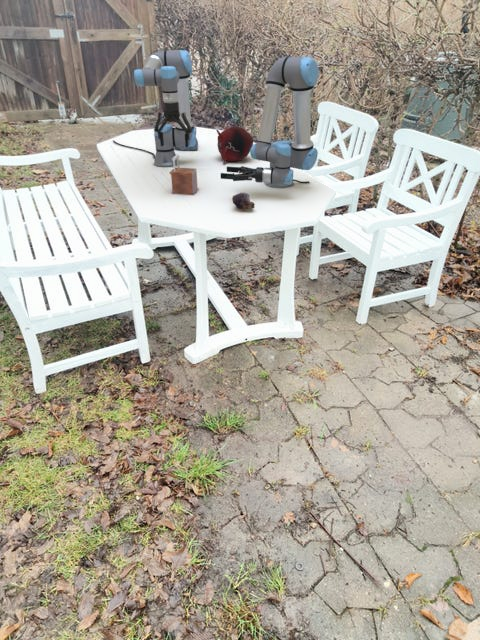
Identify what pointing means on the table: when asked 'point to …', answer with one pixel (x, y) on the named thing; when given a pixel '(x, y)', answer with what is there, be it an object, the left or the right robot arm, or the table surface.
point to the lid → (181, 170)
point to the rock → (242, 201)
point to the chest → (184, 183)
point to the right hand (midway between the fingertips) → (223, 172)
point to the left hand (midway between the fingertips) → (174, 146)
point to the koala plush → (189, 147)
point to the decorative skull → (234, 144)
